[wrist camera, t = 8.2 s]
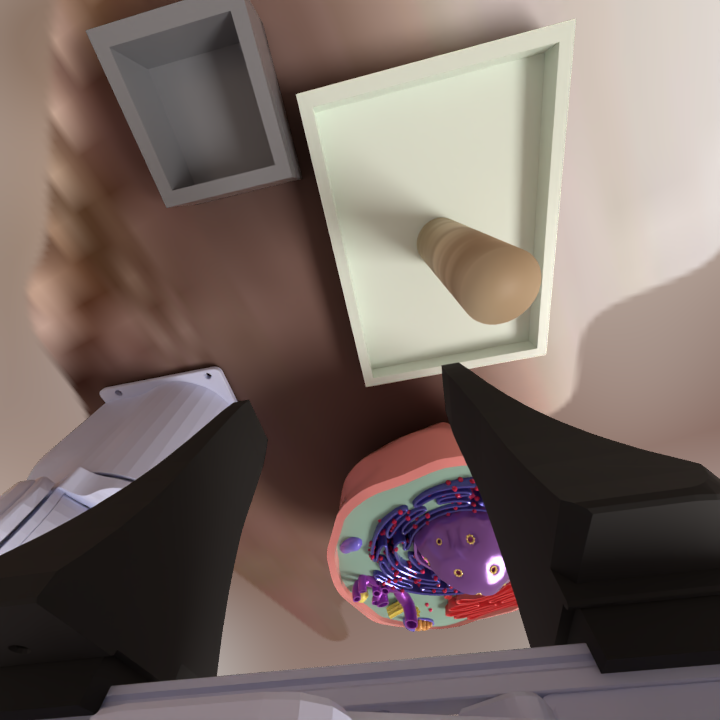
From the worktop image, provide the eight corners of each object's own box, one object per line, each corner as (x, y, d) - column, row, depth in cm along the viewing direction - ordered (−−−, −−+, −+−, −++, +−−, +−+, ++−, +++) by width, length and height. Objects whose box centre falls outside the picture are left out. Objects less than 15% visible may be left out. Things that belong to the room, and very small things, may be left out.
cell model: (322, 528, 32) (307, 680, 22) (349, 359, 23) (344, 493, 13) (480, 542, 34) (533, 691, 24) (568, 388, 24) (717, 529, 14)
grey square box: (196, 204, 18) (166, 207, 15) (137, 60, 15) (85, 30, 12) (302, 178, 17) (292, 176, 14) (262, 23, 14) (239, -17, 11)
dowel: (422, 270, 19) (467, 333, 11) (412, 226, 18) (454, 262, 10) (465, 256, 19) (543, 311, 11) (457, 210, 17) (539, 235, 10)
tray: (365, 373, 23) (365, 387, 22) (301, 103, 16) (295, 94, 14) (532, 342, 22) (546, 354, 20) (552, 36, 14) (576, 18, 13)
